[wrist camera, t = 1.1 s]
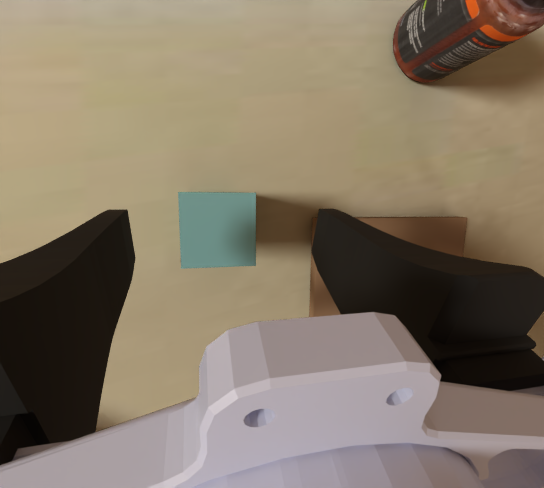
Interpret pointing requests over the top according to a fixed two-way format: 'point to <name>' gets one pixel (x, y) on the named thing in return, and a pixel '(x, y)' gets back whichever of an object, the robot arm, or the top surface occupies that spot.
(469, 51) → the supplement bottle
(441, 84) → the top surface
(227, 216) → the block
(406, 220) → the end holder
